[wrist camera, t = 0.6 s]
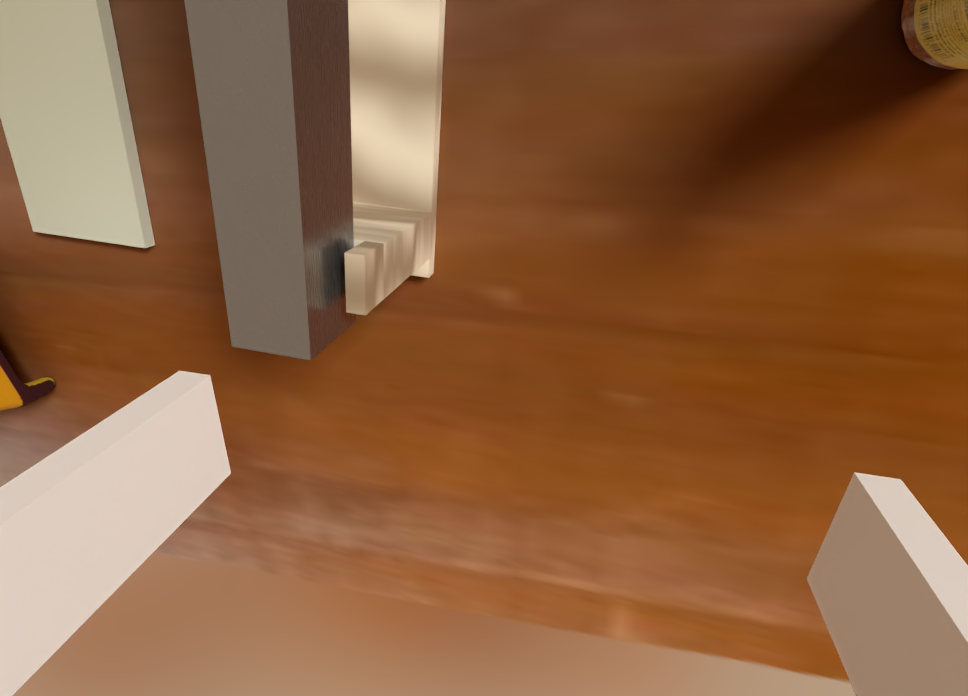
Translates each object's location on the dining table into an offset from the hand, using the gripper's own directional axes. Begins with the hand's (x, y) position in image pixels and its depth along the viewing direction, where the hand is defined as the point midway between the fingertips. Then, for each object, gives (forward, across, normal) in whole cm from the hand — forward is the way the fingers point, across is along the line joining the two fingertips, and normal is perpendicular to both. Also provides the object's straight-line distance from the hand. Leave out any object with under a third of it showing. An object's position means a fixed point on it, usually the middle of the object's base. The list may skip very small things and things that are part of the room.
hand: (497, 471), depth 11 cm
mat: (+26, -36, +9) cm, 45 cm away
